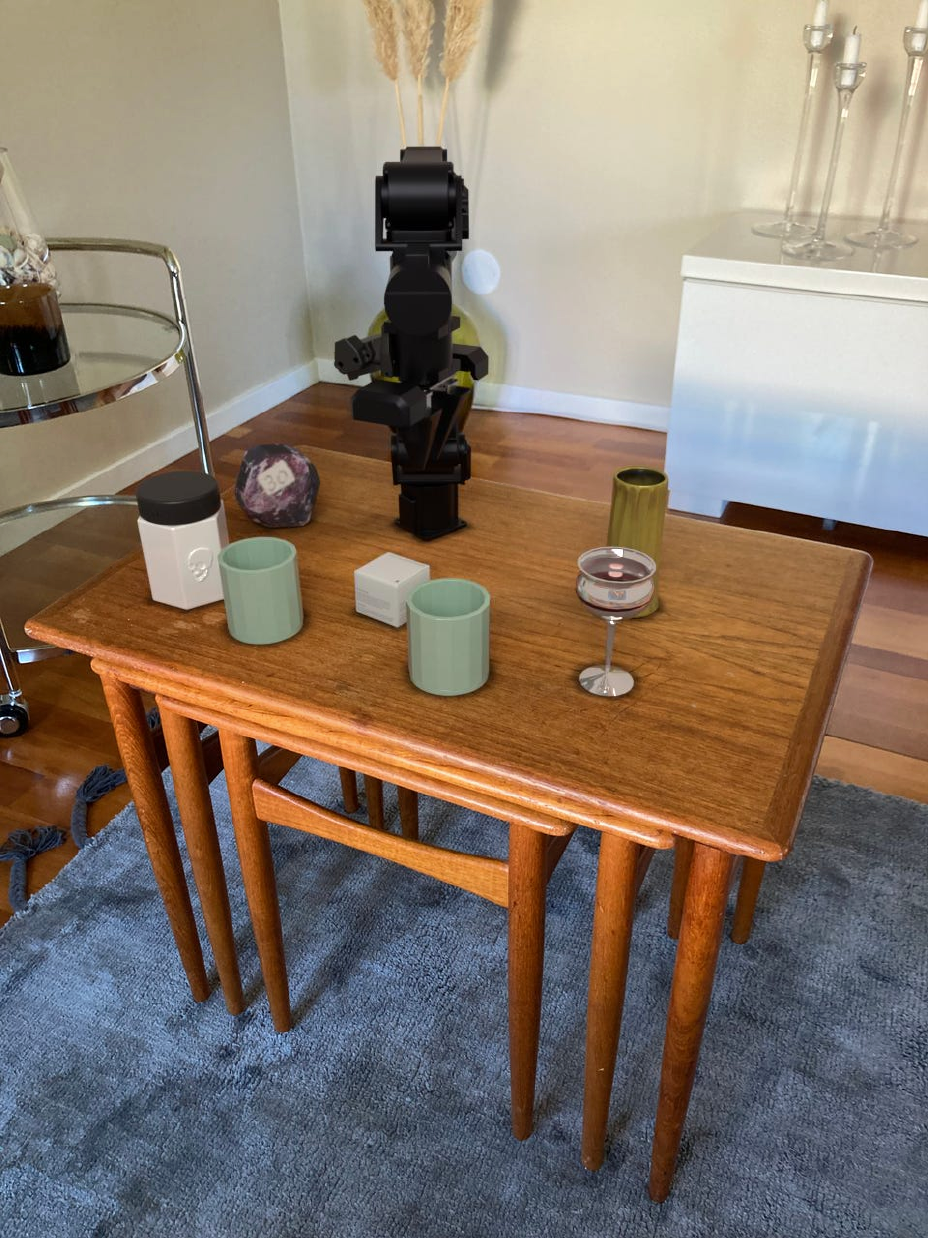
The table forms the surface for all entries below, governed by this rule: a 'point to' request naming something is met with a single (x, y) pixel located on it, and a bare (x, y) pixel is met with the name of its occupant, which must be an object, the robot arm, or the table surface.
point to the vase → (639, 516)
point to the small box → (387, 587)
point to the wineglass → (613, 605)
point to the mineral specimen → (277, 486)
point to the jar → (182, 537)
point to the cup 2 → (448, 636)
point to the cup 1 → (261, 589)
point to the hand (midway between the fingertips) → (425, 464)
